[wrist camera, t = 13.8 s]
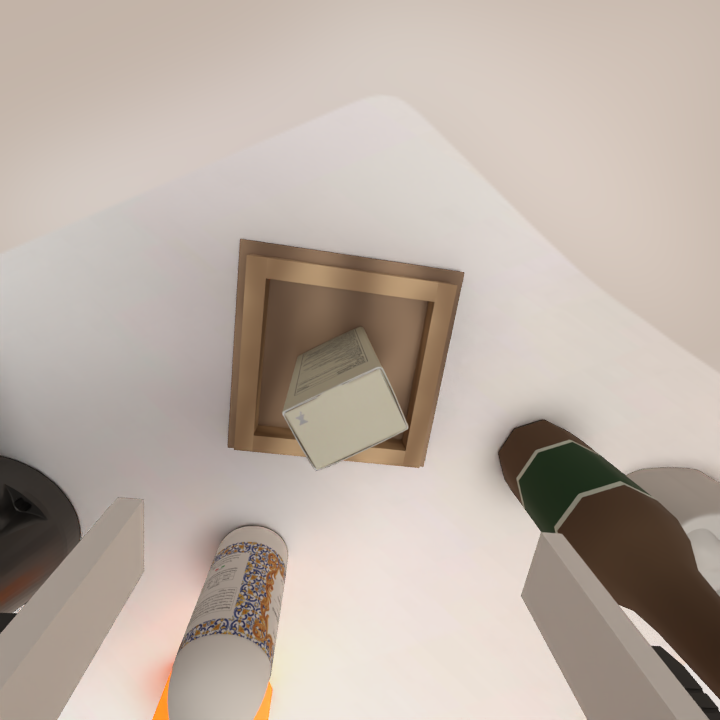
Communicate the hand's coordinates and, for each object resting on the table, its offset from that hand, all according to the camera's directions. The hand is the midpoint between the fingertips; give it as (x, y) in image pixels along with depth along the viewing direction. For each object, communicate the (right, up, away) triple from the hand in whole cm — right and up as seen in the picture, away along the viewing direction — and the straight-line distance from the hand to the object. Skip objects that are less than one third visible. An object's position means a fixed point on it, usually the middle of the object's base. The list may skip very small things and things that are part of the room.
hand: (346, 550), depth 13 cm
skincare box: (-1, +6, +21) cm, 22 cm away
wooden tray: (-1, +6, +22) cm, 23 cm away
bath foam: (-10, -13, +27) cm, 31 cm away
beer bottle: (+17, -3, +26) cm, 31 cm away
